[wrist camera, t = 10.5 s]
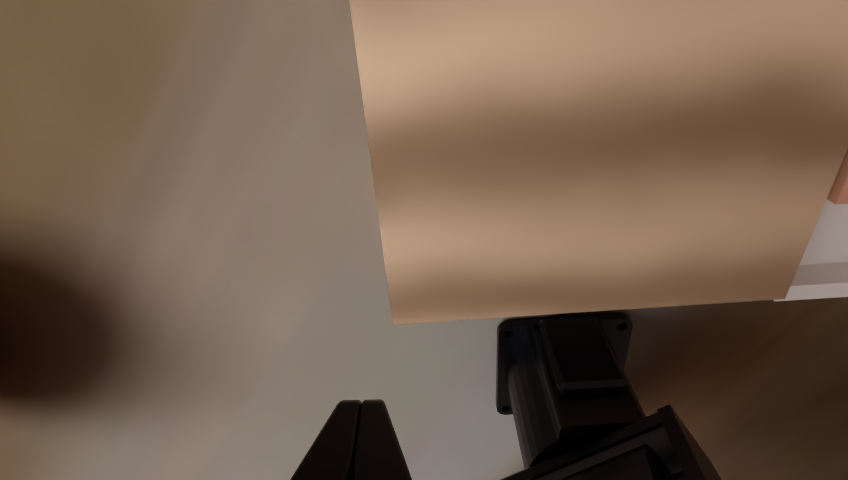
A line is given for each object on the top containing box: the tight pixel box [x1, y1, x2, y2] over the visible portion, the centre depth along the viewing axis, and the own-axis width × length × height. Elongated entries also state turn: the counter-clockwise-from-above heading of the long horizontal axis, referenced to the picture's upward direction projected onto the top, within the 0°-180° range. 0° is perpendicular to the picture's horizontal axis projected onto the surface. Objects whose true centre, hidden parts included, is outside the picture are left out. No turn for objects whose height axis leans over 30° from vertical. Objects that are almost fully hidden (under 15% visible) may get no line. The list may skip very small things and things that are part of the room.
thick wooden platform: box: [349, 0, 848, 324], centre depth 18 cm, size 14×16×3 cm
